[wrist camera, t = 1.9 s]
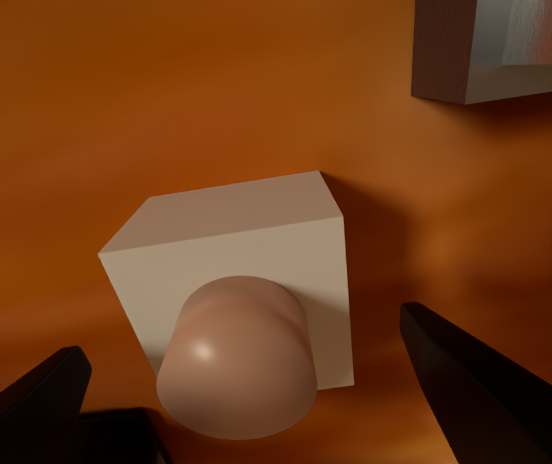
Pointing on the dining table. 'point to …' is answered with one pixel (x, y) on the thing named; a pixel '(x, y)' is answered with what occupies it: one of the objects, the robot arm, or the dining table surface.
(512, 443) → the robot arm
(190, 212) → the beige cube with knob
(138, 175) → the dining table surface
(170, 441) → the dining table surface
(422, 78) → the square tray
